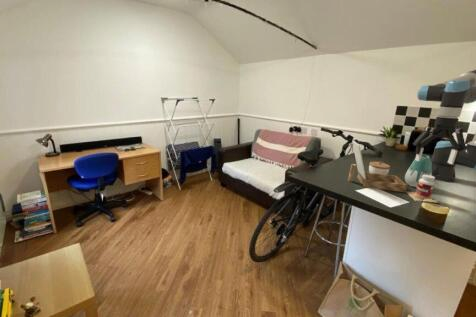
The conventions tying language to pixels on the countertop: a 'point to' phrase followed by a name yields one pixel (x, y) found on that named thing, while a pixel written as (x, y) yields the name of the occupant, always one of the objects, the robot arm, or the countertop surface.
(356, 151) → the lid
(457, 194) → the countertop surface
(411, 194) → the cork mat
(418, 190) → the pill bottle
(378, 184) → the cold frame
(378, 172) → the lidded jar
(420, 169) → the vase
